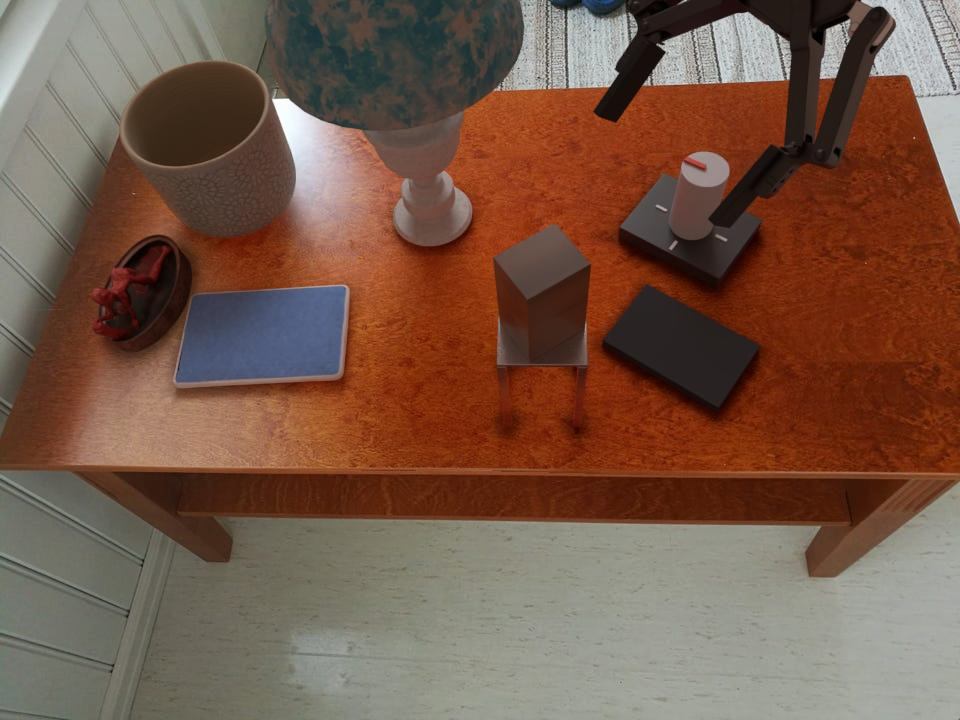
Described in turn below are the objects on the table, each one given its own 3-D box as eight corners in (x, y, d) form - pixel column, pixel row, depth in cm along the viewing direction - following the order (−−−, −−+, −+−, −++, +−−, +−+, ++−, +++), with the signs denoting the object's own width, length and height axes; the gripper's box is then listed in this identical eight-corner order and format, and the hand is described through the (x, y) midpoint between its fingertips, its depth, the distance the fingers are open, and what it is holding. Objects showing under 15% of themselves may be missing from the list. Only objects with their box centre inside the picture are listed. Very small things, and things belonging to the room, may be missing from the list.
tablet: (174, 391, 83) (169, 385, 82) (193, 297, 89) (189, 291, 88) (344, 383, 82) (341, 377, 80) (352, 288, 88) (349, 281, 86)
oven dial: (720, 218, 86) (739, 161, 78) (699, 247, 84) (716, 192, 76) (681, 200, 87) (696, 142, 79) (660, 228, 86) (672, 172, 78)
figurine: (192, 348, 85) (111, 312, 77) (135, 370, 89) (52, 339, 81) (203, 240, 92) (129, 196, 83) (149, 265, 96) (73, 226, 87)
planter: (297, 254, 90) (254, 167, 77) (165, 257, 92) (100, 171, 78) (316, 152, 98) (280, 55, 85) (194, 155, 100) (140, 62, 86)
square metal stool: (579, 360, 81) (585, 288, 68) (580, 427, 77) (587, 364, 65) (506, 359, 81) (499, 289, 69) (504, 426, 78) (496, 364, 65)
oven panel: (758, 230, 87) (763, 218, 85) (715, 289, 84) (720, 278, 82) (661, 183, 91) (664, 171, 90) (617, 237, 88) (619, 226, 86)
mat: (757, 350, 80) (760, 345, 78) (716, 412, 76) (718, 408, 75) (645, 289, 84) (646, 283, 83) (601, 345, 81) (602, 340, 80)
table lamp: (365, 138, 99) (268, -202, 64) (542, 153, 95) (541, -199, 60) (315, 285, 88) (164, -28, 53) (511, 308, 84) (489, -11, 49)
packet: (499, 322, 67) (492, 256, 59) (553, 291, 69) (555, 222, 60) (529, 362, 65) (527, 300, 56) (585, 329, 66) (591, 264, 58)
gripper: (1049, 10, 44) (792, 276, 55) (754, -164, 55) (587, 88, 66) (1037, -32, 39) (753, 273, 49) (711, -216, 49) (536, 68, 60)
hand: (658, 168), depth 57 cm, fingers open, 13 cm apart
